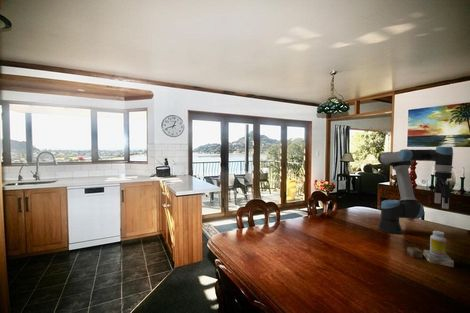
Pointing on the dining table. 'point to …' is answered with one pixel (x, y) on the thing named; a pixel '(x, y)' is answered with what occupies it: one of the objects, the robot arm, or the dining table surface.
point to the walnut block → (414, 252)
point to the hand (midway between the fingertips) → (441, 205)
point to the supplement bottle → (438, 244)
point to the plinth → (438, 259)
